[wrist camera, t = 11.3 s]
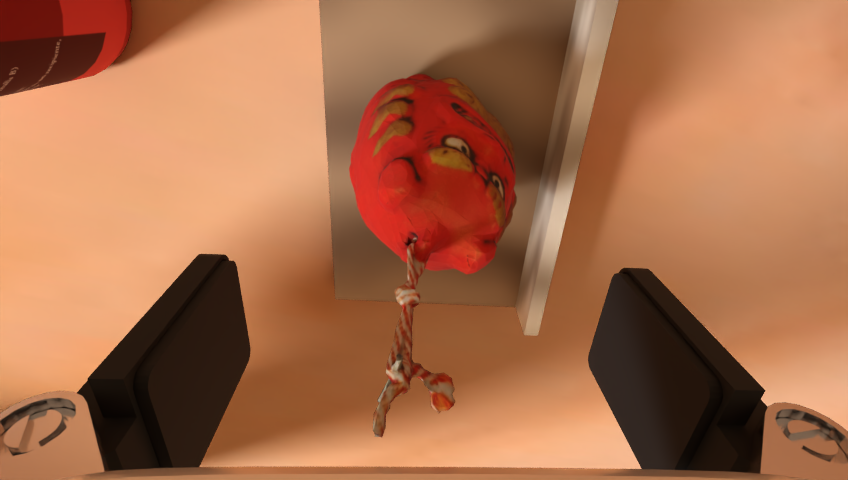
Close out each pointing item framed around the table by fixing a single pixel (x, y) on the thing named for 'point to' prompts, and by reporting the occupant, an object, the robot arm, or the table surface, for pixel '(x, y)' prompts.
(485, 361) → the table surface
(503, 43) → the shelf board
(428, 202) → the red clay folk toy
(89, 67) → the canned food
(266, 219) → the table surface
